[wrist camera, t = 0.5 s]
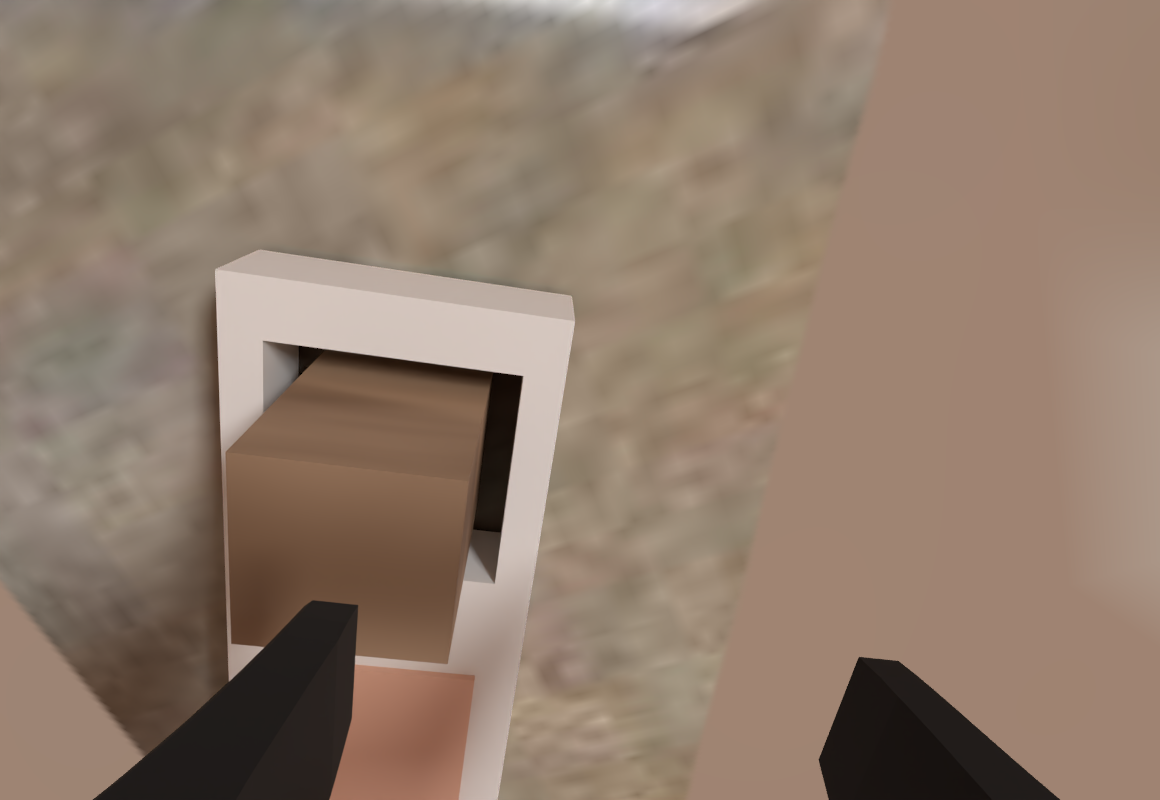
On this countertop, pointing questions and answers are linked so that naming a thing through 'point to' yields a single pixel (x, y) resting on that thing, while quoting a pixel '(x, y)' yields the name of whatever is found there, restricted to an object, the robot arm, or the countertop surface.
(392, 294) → the socket block
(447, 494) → the plug
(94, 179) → the countertop surface
